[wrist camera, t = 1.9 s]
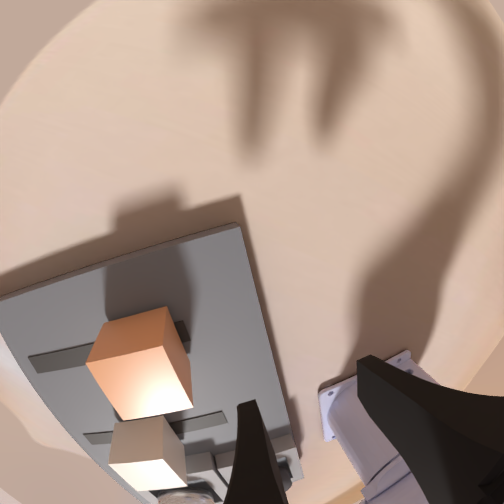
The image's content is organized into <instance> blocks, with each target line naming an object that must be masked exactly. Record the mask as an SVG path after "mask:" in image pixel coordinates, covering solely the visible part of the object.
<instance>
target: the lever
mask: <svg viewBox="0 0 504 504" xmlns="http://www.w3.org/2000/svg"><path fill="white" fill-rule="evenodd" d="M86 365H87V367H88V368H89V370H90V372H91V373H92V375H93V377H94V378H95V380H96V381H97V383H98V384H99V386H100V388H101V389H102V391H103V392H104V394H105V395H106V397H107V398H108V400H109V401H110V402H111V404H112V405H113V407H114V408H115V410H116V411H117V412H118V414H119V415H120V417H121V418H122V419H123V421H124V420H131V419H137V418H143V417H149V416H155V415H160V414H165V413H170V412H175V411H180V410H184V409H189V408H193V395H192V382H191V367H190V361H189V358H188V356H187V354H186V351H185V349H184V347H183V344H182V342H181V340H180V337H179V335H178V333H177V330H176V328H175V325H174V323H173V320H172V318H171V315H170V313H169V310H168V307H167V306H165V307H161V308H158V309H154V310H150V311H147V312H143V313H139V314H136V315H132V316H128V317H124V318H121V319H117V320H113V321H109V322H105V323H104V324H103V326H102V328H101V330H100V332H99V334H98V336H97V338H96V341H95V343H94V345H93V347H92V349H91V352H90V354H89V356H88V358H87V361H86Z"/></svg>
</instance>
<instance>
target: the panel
mask: <svg viewBox="0 0 504 504" xmlns="http://www.w3.org/2000/svg"><path fill="white" fill-rule="evenodd" d="M165 306H167V307H168V310H169V313H170V315H171V318H172V320H173V323H174V325H175V328H176V330H177V333H178V335H179V337H180V340H181V342H182V344H183V347H184V349H185V351H186V354H187V356H188V358H189V361H190V367H191V382H192V395H193V408H189V409H184V410H180V411H175V412H170V413H165V414H160V415H155V416H149V417H143V418H137V419H131V420H124V421H123V419H122V418H121V417H120V415H119V414H118V412H117V411H116V410H115V408H114V407H113V405H112V404H111V402H110V401H109V400H108V398H107V397H106V395H105V394H104V392H103V391H102V389H101V388H100V386H99V384H98V383H97V381H96V380H95V378H94V377H93V375H92V373H91V372H90V370H89V368H88V367H87V365H86V361H87V358H88V356H89V354H90V352H91V349H92V347H93V345H94V343H95V341H96V338H97V336H98V334H99V332H100V330H101V328H102V326H103V324H104V323H105V322H109V321H113V320H117V319H121V318H124V317H128V316H132V315H136V314H139V313H143V312H147V311H150V310H154V309H158V308H161V307H165ZM0 333H1V335H2V337H3V338H4V340H5V342H6V344H7V346H8V348H9V349H10V351H11V353H12V355H13V356H14V358H15V360H16V361H17V363H18V365H19V366H20V368H21V369H22V371H23V373H24V374H25V376H26V377H27V379H28V380H29V382H30V383H31V385H32V386H33V388H34V389H35V391H36V392H37V393H38V395H39V396H40V398H41V399H42V400H43V402H44V403H45V404H46V406H47V407H48V408H49V410H50V411H51V412H52V414H53V415H54V416H55V417H56V419H57V420H58V421H59V422H60V424H61V425H62V426H63V427H64V428H65V430H66V431H67V432H68V433H69V434H70V435H71V436H72V438H73V439H74V440H75V441H76V442H77V443H78V444H79V445H80V446H81V448H82V449H83V450H84V451H85V452H86V453H87V454H88V455H89V456H90V457H91V458H92V459H93V460H94V461H95V462H96V463H97V464H98V465H99V466H100V467H101V468H102V469H103V470H104V471H105V472H107V474H109V475H110V476H111V477H112V478H113V479H114V480H115V481H116V482H117V483H119V484H120V485H121V486H122V487H123V488H124V489H125V490H127V491H128V492H129V493H130V494H132V495H133V496H134V497H135V498H136V499H138V500H139V501H140V502H141V503H143V504H158V493H159V492H160V491H161V490H163V489H160V490H148V491H137V490H135V489H134V488H133V487H132V486H131V485H130V484H129V483H127V482H126V481H125V480H124V479H123V478H122V477H121V476H120V475H119V474H118V473H117V472H116V471H114V470H113V469H112V468H111V467H110V466H109V465H108V461H109V454H110V448H111V442H112V436H113V430H114V424H115V423H119V422H126V421H133V420H140V419H146V418H151V417H157V416H162V415H163V416H164V417H165V419H166V421H167V422H168V424H169V425H170V427H171V428H172V429H173V431H174V432H175V434H176V435H177V437H178V438H179V440H180V441H181V442H182V444H183V445H184V451H185V463H186V475H187V485H188V486H191V487H198V488H202V489H205V490H207V491H209V492H211V493H212V495H213V498H214V504H223V502H224V499H225V496H226V493H227V489H228V485H229V481H230V477H231V472H232V467H233V462H234V456H235V448H236V440H237V406H238V404H240V403H244V402H247V401H251V400H254V399H256V402H257V405H258V407H259V410H260V413H261V416H262V419H263V421H264V424H265V427H266V430H267V432H268V435H269V438H270V441H271V443H272V446H273V449H274V452H275V455H276V459H277V463H278V466H281V467H284V468H286V469H287V471H288V474H289V476H290V479H291V481H292V482H295V481H298V480H300V479H303V478H304V475H303V471H302V467H301V464H300V460H299V456H298V452H297V448H296V444H295V441H294V437H293V433H292V429H291V425H290V421H289V417H288V414H287V410H286V406H285V402H284V398H283V394H282V390H281V386H280V383H279V379H278V375H277V371H276V367H275V363H274V359H273V355H272V351H271V347H270V343H269V340H268V336H267V332H266V328H265V324H264V320H263V316H262V312H261V308H260V304H259V300H258V296H257V292H256V288H255V284H254V280H253V276H252V272H251V268H250V264H249V260H248V256H247V252H246V248H245V244H244V240H243V236H242V232H241V228H240V226H239V225H238V224H237V223H236V222H234V223H230V224H227V225H223V226H220V227H216V228H213V229H209V230H206V231H202V232H199V233H195V234H192V235H188V236H185V237H181V238H178V239H175V240H171V241H168V242H165V243H161V244H158V245H155V246H151V247H148V248H145V249H141V250H138V251H135V252H132V253H129V254H125V255H122V256H119V257H116V258H113V259H109V260H106V261H103V262H100V263H97V264H94V265H91V266H88V267H85V268H82V269H79V270H76V271H73V272H70V273H67V274H64V275H61V276H58V277H55V278H52V279H49V280H46V281H43V282H40V283H37V284H35V285H32V286H29V287H26V288H23V289H20V290H18V291H15V292H12V293H9V294H7V295H4V296H1V297H0Z"/></svg>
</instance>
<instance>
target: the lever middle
mask: <svg viewBox="0 0 504 504" xmlns="http://www.w3.org/2000/svg"><path fill="white" fill-rule="evenodd" d="M108 465H109V466H110V467H111V468H112V469H113V470H114V471H116V472H117V473H118V474H119V475H120V476H121V477H122V478H123V479H124V480H125V481H126V482H127V483H129V484H130V485H131V486H132V487H133V488H134V489H135V490H137V491H148V490H160V489H170V488H178V487H185V486H188V485H187V475H186V463H185V451H184V445H183V444H182V442H181V441H180V440H179V438H178V437H177V435H176V434H175V432H174V431H173V429H172V428H171V427H170V425H169V424H168V422H167V421H166V419H165V417H164V416H163V415H162V416H157V417H151V418H146V419H140V420H133V421H126V422H119V423H115V424H114V430H113V436H112V442H111V448H110V454H109V461H108Z"/></svg>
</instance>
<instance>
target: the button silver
mask: <svg viewBox="0 0 504 504" xmlns="http://www.w3.org/2000/svg"><path fill="white" fill-rule="evenodd" d="M158 504H214V498H213V495H212V493H211V492H209V491H207V490H205V489H202V488H198V487H191V486H185V487H178V488H170V489H163V490H161V491H160V492H159V493H158Z"/></svg>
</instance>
